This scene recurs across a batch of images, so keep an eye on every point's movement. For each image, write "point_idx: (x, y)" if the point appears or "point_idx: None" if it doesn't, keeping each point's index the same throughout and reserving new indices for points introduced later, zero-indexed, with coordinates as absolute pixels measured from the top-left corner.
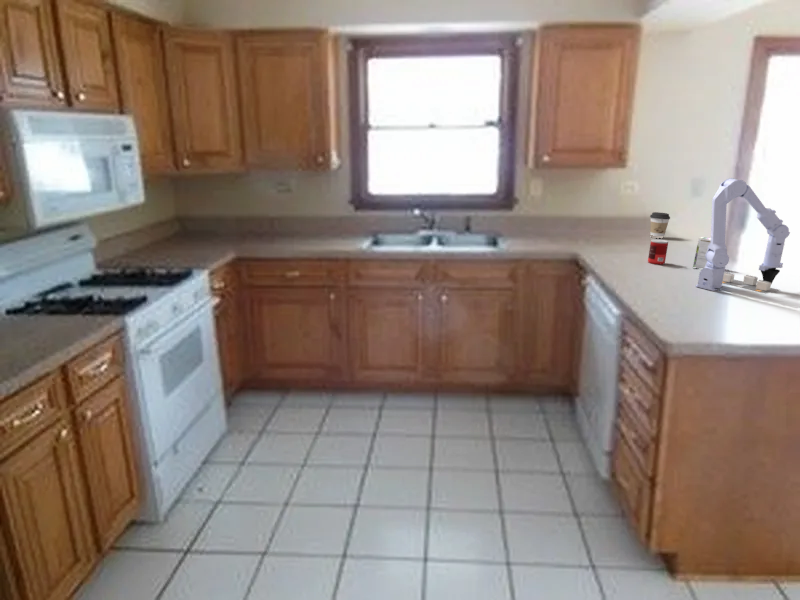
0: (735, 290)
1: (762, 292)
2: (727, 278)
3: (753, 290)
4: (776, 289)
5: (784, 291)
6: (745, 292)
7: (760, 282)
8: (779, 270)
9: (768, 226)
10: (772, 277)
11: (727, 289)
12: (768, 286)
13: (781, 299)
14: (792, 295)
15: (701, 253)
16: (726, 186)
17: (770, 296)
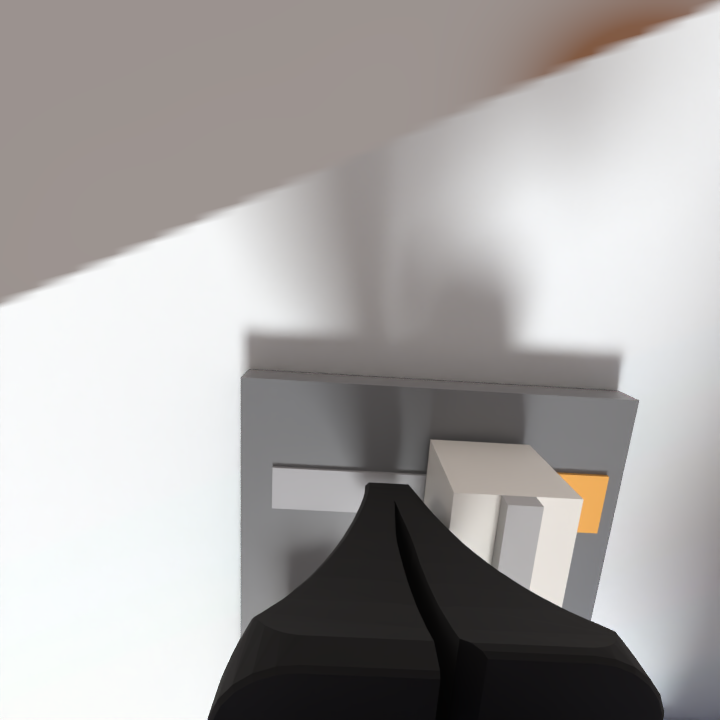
0: (635, 651)
1: (623, 438)
2: None
3: (606, 537)
4: (263, 420)
5: (132, 365)
6: (638, 566)
7: (561, 592)
8: (313, 664)
9: None
10: (452, 563)
11: (662, 703)
12: (505, 468)
13: (637, 195)
14: (256, 211)
15: None
16: None
17: (589, 342)
